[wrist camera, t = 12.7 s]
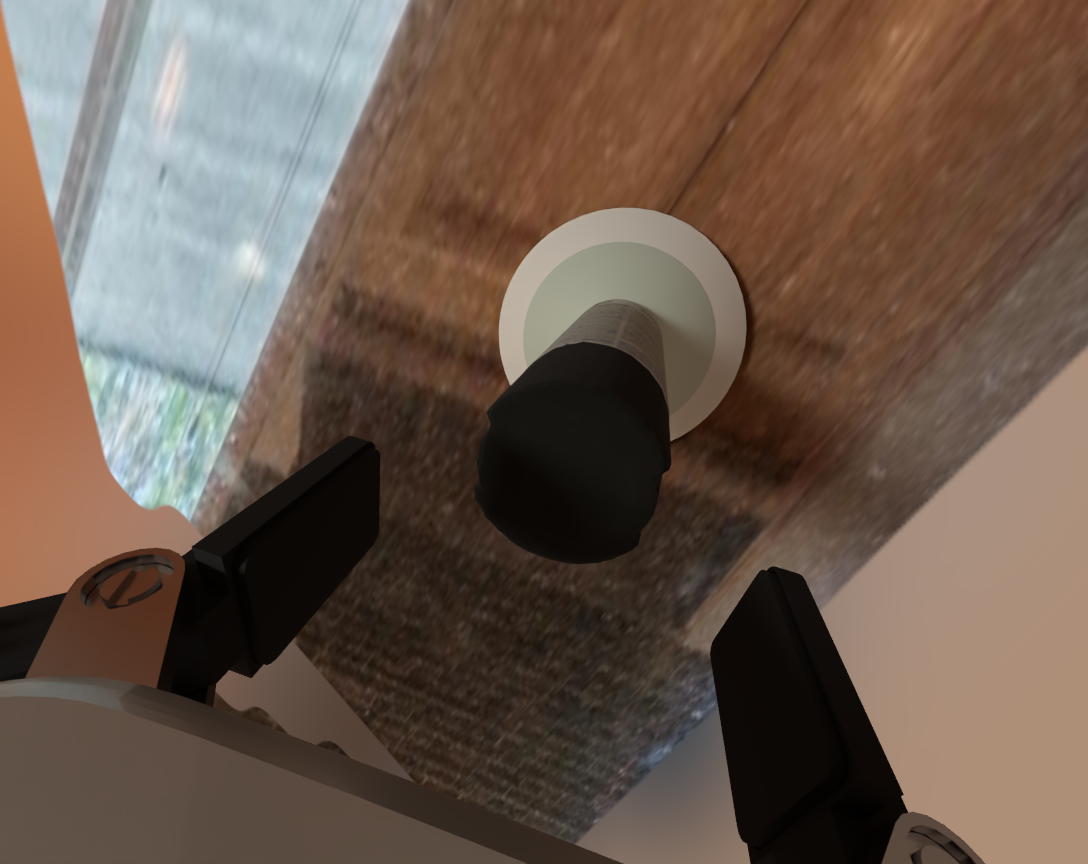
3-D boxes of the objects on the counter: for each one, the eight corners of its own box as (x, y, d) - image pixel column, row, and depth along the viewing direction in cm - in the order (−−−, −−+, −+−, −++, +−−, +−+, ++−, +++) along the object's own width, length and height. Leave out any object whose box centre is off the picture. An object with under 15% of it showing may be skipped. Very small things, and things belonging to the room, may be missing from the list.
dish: (526, 181, 28) (521, 179, 27) (790, 244, 26) (797, 244, 25) (488, 412, 36) (483, 417, 35) (687, 471, 35) (688, 479, 34)
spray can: (561, 372, 32) (451, 535, 14) (584, 284, 29) (478, 354, 11) (644, 397, 31) (633, 599, 14) (677, 309, 28) (717, 425, 11)
